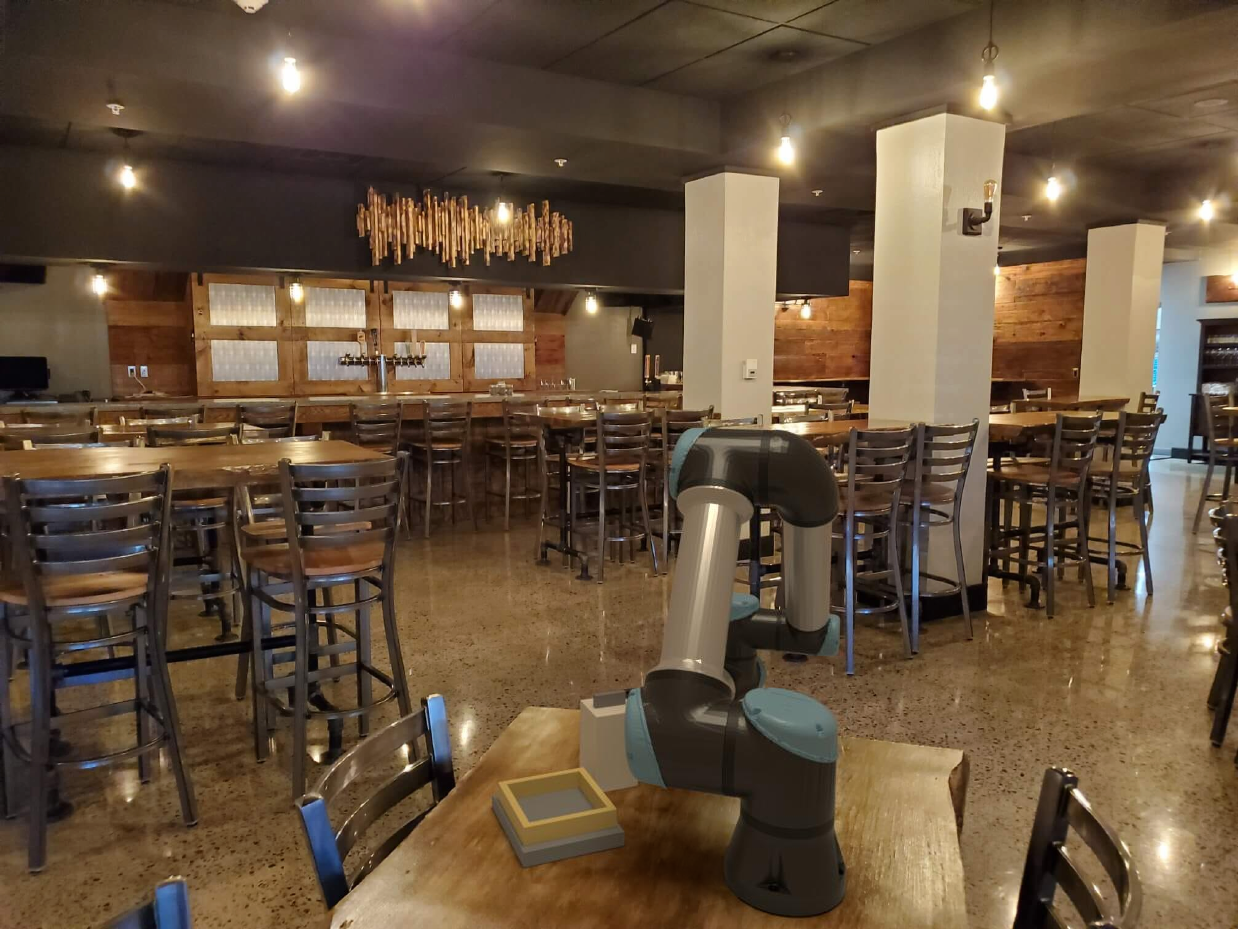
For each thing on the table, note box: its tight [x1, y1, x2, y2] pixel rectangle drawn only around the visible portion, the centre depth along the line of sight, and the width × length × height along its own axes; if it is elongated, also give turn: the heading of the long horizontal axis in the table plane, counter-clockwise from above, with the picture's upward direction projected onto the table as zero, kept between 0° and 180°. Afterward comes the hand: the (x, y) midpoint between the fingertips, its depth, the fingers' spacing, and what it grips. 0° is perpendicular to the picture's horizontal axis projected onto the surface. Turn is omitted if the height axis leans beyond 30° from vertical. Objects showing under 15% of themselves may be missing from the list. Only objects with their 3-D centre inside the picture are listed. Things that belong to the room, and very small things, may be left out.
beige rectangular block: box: [578, 689, 639, 793], centre depth 132 cm, size 7×7×14 cm
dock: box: [491, 767, 625, 869], centre depth 118 cm, size 16×14×4 cm
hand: (623, 728), depth 135 cm, fingers open, 13 cm apart
